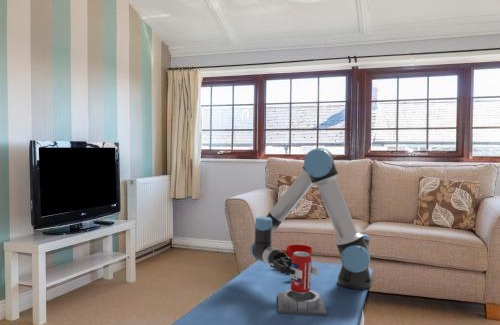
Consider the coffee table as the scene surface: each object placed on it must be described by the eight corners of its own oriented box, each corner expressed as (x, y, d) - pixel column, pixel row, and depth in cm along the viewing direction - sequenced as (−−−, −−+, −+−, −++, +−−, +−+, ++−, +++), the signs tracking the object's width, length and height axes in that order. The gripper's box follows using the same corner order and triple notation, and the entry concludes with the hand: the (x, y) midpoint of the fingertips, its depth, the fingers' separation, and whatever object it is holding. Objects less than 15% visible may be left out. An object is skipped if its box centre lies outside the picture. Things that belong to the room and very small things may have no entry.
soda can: (312, 294, 161) (314, 256, 160) (292, 295, 160) (294, 256, 159) (307, 287, 169) (308, 250, 168) (288, 287, 168) (289, 250, 167)
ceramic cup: (276, 263, 220) (277, 244, 220) (308, 263, 222) (308, 244, 221) (281, 271, 207) (281, 251, 207) (314, 270, 209) (315, 250, 209)
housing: (321, 297, 173) (321, 288, 173) (326, 315, 155) (327, 305, 155) (277, 295, 174) (278, 286, 174) (278, 313, 156) (278, 302, 156)
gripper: (293, 263, 185) (329, 279, 165) (254, 269, 174) (287, 287, 155) (294, 246, 184) (329, 260, 165) (255, 251, 174) (288, 267, 154)
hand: (309, 273), depth 160 cm, fingers closed on soda can, 7 cm apart
